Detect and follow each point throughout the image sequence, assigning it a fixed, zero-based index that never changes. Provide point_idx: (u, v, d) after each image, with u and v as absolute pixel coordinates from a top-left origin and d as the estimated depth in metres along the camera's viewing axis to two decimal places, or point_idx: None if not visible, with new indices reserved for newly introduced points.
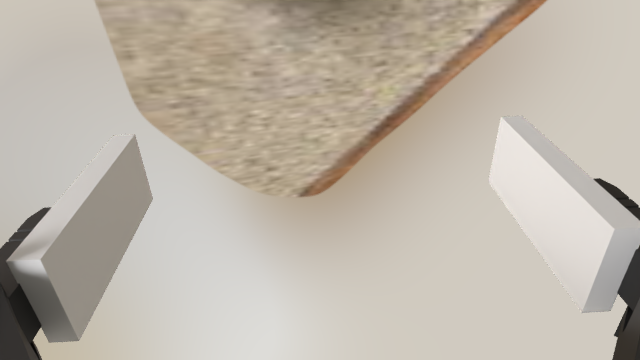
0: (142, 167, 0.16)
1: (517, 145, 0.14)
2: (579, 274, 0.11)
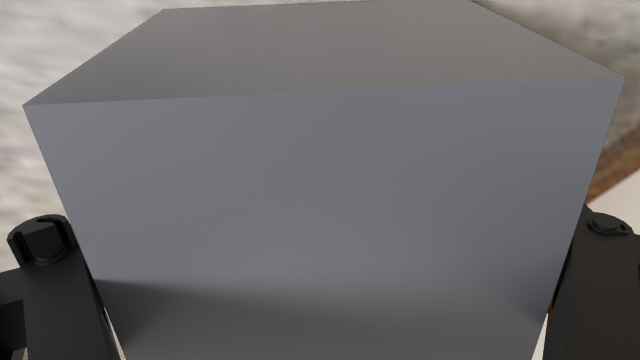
0: None
1: None
2: None
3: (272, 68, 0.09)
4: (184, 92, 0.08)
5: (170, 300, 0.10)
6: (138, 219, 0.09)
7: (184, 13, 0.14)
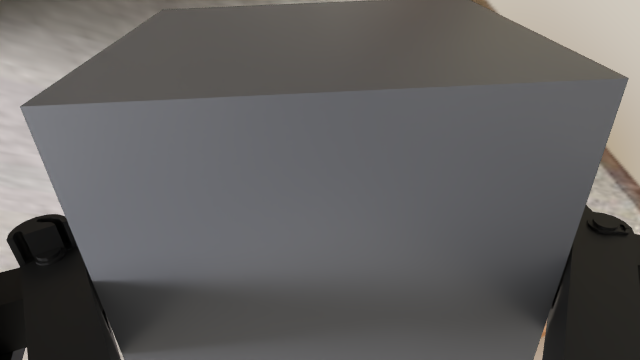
0: None
1: None
2: None
3: (272, 69, 0.09)
4: (183, 93, 0.08)
5: (169, 302, 0.10)
6: (138, 221, 0.09)
7: (184, 13, 0.14)
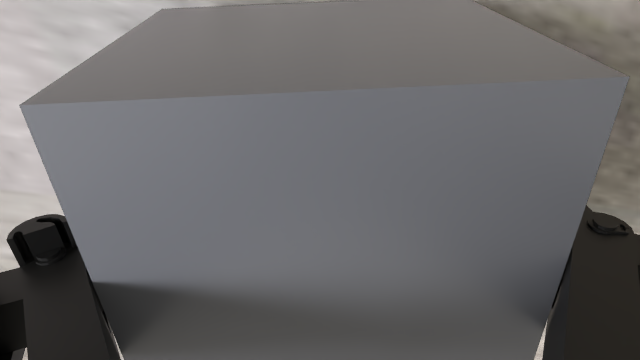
0: None
1: None
2: None
3: (272, 68, 0.09)
4: (183, 92, 0.08)
5: (169, 302, 0.10)
6: (137, 220, 0.08)
7: (183, 13, 0.14)
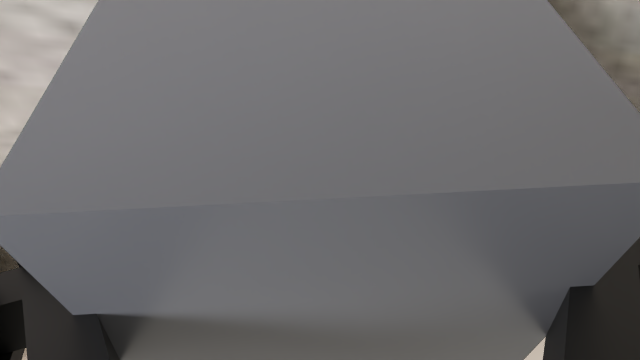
0: None
1: None
2: None
3: (269, 132, 0.07)
4: (165, 190, 0.06)
5: (171, 340, 0.10)
6: (129, 293, 0.08)
7: None
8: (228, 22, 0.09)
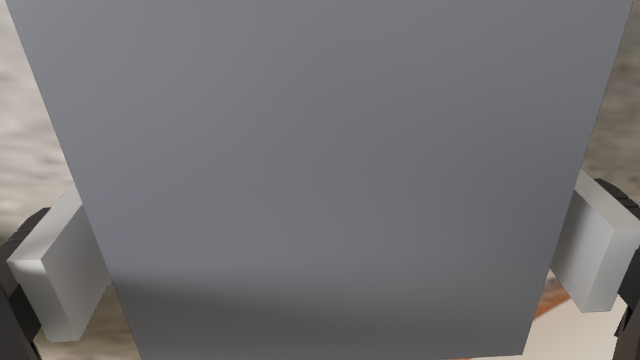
0: None
1: None
2: (579, 274, 0.11)
3: None
4: None
5: (156, 204, 0.09)
6: (120, 101, 0.08)
7: None
8: None
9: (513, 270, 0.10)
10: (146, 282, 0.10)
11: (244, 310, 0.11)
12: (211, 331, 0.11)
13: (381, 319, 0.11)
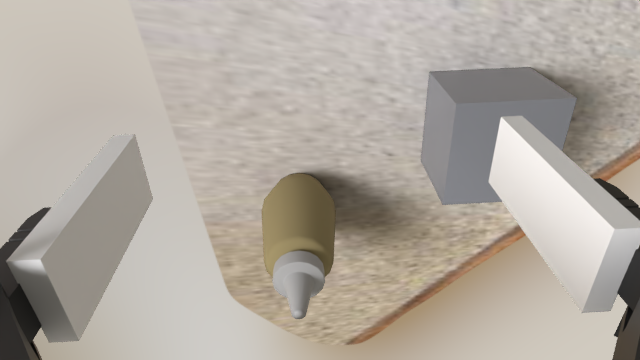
0: (142, 167, 0.16)
1: (516, 144, 0.14)
2: (579, 274, 0.11)
3: (498, 95, 0.38)
4: (485, 101, 0.37)
5: (466, 152, 0.39)
6: (468, 129, 0.38)
7: (441, 74, 0.43)
8: (473, 82, 0.41)
9: None
10: (455, 173, 0.40)
11: (476, 182, 0.41)
12: (465, 189, 0.41)
13: None
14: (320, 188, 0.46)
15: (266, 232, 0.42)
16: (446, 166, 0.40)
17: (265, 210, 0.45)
